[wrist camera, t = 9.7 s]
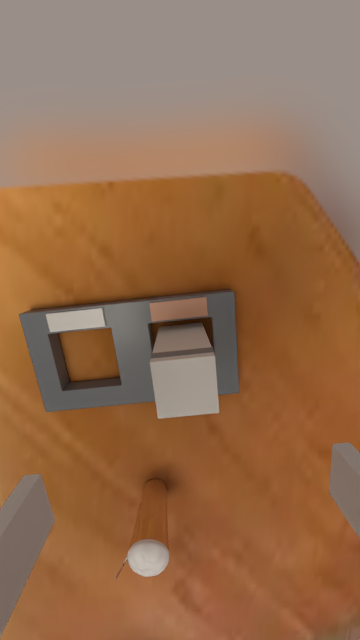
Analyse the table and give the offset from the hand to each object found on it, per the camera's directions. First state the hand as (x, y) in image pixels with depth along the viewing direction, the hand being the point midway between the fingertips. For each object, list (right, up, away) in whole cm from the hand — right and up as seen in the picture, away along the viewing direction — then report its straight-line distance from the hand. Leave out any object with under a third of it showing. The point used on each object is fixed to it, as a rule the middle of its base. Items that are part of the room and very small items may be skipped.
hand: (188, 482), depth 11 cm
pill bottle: (-4, -16, +23) cm, 28 cm away
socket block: (-6, +4, +18) cm, 19 cm away
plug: (0, +4, +17) cm, 18 cm away
